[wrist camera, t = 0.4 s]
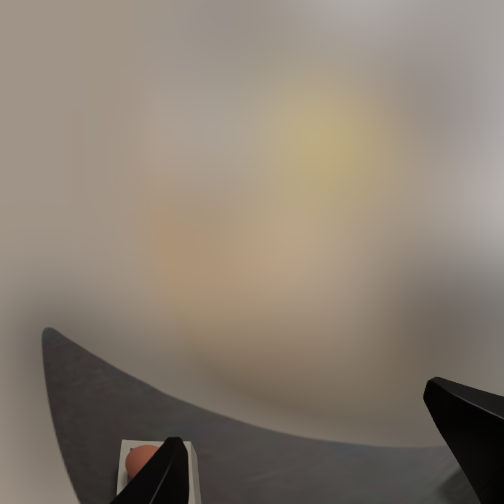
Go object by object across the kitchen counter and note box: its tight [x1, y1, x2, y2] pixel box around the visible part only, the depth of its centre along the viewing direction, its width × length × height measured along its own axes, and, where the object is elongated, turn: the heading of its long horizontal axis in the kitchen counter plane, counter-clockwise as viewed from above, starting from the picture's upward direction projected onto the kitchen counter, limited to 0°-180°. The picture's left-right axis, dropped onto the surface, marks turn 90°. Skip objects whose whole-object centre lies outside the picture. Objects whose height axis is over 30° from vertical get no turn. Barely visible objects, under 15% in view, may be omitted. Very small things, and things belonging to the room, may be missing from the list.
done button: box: [125, 445, 159, 478], centre depth 14 cm, size 4×4×2 cm
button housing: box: [117, 440, 201, 504], centre depth 15 cm, size 6×6×3 cm
